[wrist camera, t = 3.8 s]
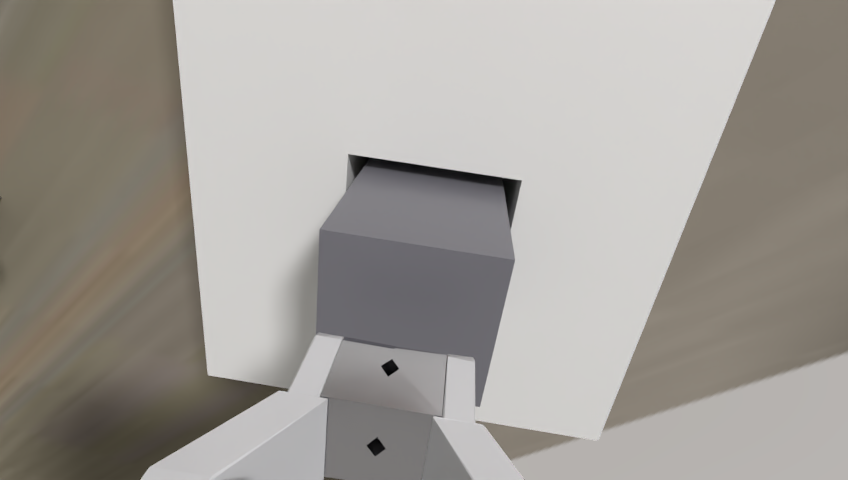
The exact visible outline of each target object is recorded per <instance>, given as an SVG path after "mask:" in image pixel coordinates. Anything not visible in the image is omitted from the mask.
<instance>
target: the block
mask: <svg viewBox="0 0 848 480" xmlns="http://www.w3.org/2000/svg"><path fill="white" fill-rule="evenodd" d="M775 1H776V0H173V7H174V18H175V29H176V39H177V50H178V61H179V71H180V82H181V93H182V104H183V114H184V125H185V136H186V146H187V157H188V168H189V179H190V189H191V200H192V211H193V221H194V232H195V243H196V253H197V264H198V275H199V286H200V296H201V307H202V318H203V328H204V339H205V350H206V361H207V371H208V375H210V376H216V377H222V378H227V379H233V380H239V381H245V382H251V383H257V384H263V385H269V386H275V387H281V388H287V389H289V387H290V385H291V383H292V381H293V379H294V377H295V375H296V373H297V371H298V369H299V367H300V365H301V363H302V361H303V359H304V357H305V354H306V352H307V350H308V348H309V346H310V344H311V342H312V340H313V338H314V337H315V336H316V317H317V288H318V258H319V229H320V228H321V226H322V225H323V224H324V222H325V221H326V219H327V218H328V217H329V215H330V214H331V212H332V211H333V209H334V208H335V207H336V205H337V204H338V202H339V201H340V200H341V198H342V197H343V195H344V194H345V193H346V191H347V190H348V188H349V187H350V185H351V184H352V183H353V181H354V180H355V178H356V177H357V176H358V174H359V173H360V171H361V170H362V169H363V167H364V166H365V164H366V163H367V161H368V160H369V159H370V157H371V158H377V159H384V160H391V161H397V162H404V163H410V164H417V165H423V166H430V167H437V168H443V169H450V170H456V171H463V172H469V173H476V174H483V175H489V176H496V177H502V180H503V186H504V192H505V199H506V205H507V211H508V218H509V224H510V230H511V237H512V243H513V249H514V256H515V263H514V267H513V271H512V275H511V280H510V284H509V288H508V292H507V296H506V300H505V305H504V309H503V313H502V317H501V321H500V325H499V330H498V334H497V338H496V342H495V346H494V351H493V355H492V359H491V363H490V367H489V371H488V376H487V380H486V384H485V388H484V392H483V396H482V401H481V405H480V407H476V406H475V420H477V421H483V422H489V423H495V424H501V425H507V426H513V427H519V428H525V429H531V430H537V431H542V432H548V433H554V434H560V435H566V436H572V437H578V438H584V439H591V440H596V441H598V440H599V437H600V435H601V432H602V430H603V427H604V425H605V422H606V420H607V417H608V415H609V413H610V410H611V408H612V405H613V403H614V400H615V398H616V395H617V393H618V390H619V388H620V385H621V383H622V380H623V378H624V375H625V373H626V370H627V368H628V365H629V363H630V360H631V358H632V355H633V353H634V351H635V348H636V346H637V343H638V341H639V338H640V336H641V333H642V331H643V328H644V326H645V323H646V321H647V318H648V316H649V313H650V311H651V308H652V306H653V303H654V301H655V298H656V296H657V293H658V291H659V289H660V286H661V284H662V281H663V279H664V276H665V274H666V271H667V269H668V266H669V264H670V261H671V259H672V256H673V254H674V251H675V249H676V246H677V244H678V241H679V239H680V236H681V234H682V231H683V229H684V227H685V224H686V222H687V219H688V217H689V214H690V212H691V209H692V207H693V204H694V202H695V199H696V197H697V194H698V192H699V189H700V187H701V184H702V182H703V179H704V177H705V174H706V172H707V169H708V167H709V164H710V162H711V160H712V157H713V155H714V152H715V150H716V147H717V145H718V142H719V140H720V137H721V135H722V132H723V130H724V127H725V125H726V122H727V120H728V117H729V115H730V112H731V110H732V107H733V105H734V102H735V100H736V98H737V95H738V93H739V90H740V88H741V85H742V83H743V80H744V78H745V75H746V73H747V70H748V68H749V65H750V63H751V60H752V58H753V55H754V53H755V50H756V48H757V45H758V43H759V40H760V38H761V36H762V33H763V31H764V28H765V26H766V23H767V21H768V18H769V16H770V13H771V11H772V8H773V6H774V3H775Z"/></svg>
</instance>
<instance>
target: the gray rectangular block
mask: <svg viewBox="0 0 848 480" xmlns="http://www.w3.org/2000/svg"><path fill="white" fill-rule="evenodd" d="M514 263H515V256H514V249H513V243H512V237H511V230H510V224H509V218H508V211H507V205H506V199H505V192H504V186H503V180H502V177H496V176H489V175H483V174H476V173H469V172H463V171H456V170H450V169H443V168H437V167H430V166H423V165H417V164H410V163H404V162H397V161H391V160H384V159H377V158H371V157H370V159H369V160H368V161H367V163H366V164H365V166H364V167H363V169H362V170H361V171H360V173H359V174H358V176H357V177H356V178H355V180H354V181H353V183H352V184H351V185H350V187H349V188H348V190H347V191H346V193H345V194H344V195H343V197H342V198H341V200H340V201H339V202H338V204H337V205H336V207H335V208H334V209H333V211H332V212H331V214H330V215H329V217H328V218H327V219H326V221H325V222H324V224H323V225H322V226H321V228H320V229H319V258H318V288H317V317H316V335H317V334H318V333H325V334H331V335H336V336H342V337H344V338H345V337H349V338H354V339H360V340H365V341H370V342H376V343H381V344H386V345H392V346H396V347H402V348H409V349H415V350H421V351H428V352H434V353H440V354H446V355H447V354H452V355H459V356H467V357H473V358H474V360H475V406H476V407H480V405H481V401H482V396H483V392H484V388H485V384H486V380H487V376H488V371H489V367H490V363H491V359H492V355H493V351H494V346H495V342H496V338H497V334H498V330H499V325H500V321H501V317H502V313H503V309H504V305H505V300H506V296H507V292H508V288H509V284H510V280H511V275H512V271H513V267H514Z"/></svg>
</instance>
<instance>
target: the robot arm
mask: <svg viewBox="0 0 848 480" xmlns="http://www.w3.org/2000/svg"><path fill="white" fill-rule="evenodd" d="M324 477H329V478H336V479H343V480H525V479H524V478H523V477H522V476H521V474H520V473H519V471H518V470H517V469H516V467H515V466H514V465H513V463H512V462H511V461H510V459H509V458H508V457H507V455H506V454H505V453H504V451H503V450H502V449H501V447H500V446H499V445H498V443H497V442H496V441H495V439H494V438H493V437H492V435H491V434H490V433H489V431H488V430H487V429H486V427H485V426H484V425H482V424H477V423H475V360H474V358H473V357H467V356H459V355H452V354H447V355H446V354H440V353H434V352H428V351H421V350H415V349H409V348H402V347H396V346H392V345H386V344H381V343H376V342H370V341H365V340H360V339H354V338H349V337H345V338H344V337H342V336H336V335H331V334H325V333H318V334H317V335H316V336H315V337H314V338H313V340H312V342H311V344H310V346H309V348H308V350H307V352H306V354H305V357H304V359H303V361H302V363H301V365H300V367H299V369H298V371H297V373H296V375H295V377H294V379H293V381H292V383H291V385H290V387H289V389H288V391H287V392H285V391H277V392H276V393H274V394H272V395H271V396H269V397H267V398H266V399H264V400H262V401H260V402H259V403H257V404H255V405H254V406H252V407H250V408H249V409H247V410H245V411H244V412H242V413H240V414H238V415H237V416H235V417H233V418H232V419H230V420H228V421H227V422H225V423H223V424H221V425H220V426H218V427H216V428H215V429H213V430H211V431H210V432H208V433H206V434H205V435H203V436H201V437H199V438H198V439H196V440H194V441H193V442H191V443H189V444H188V445H186V446H184V447H182V448H181V449H179V450H177V451H176V452H174V453H172V454H171V455H169V456H167V457H166V458H164V459H162V460H160V461H159V462H157V463H155V464H154V465H152V466H150V467H149V468H148V470H147V471H146V472H145V474H144V475H143V477H142V478H141V479H140V480H324Z"/></svg>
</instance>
